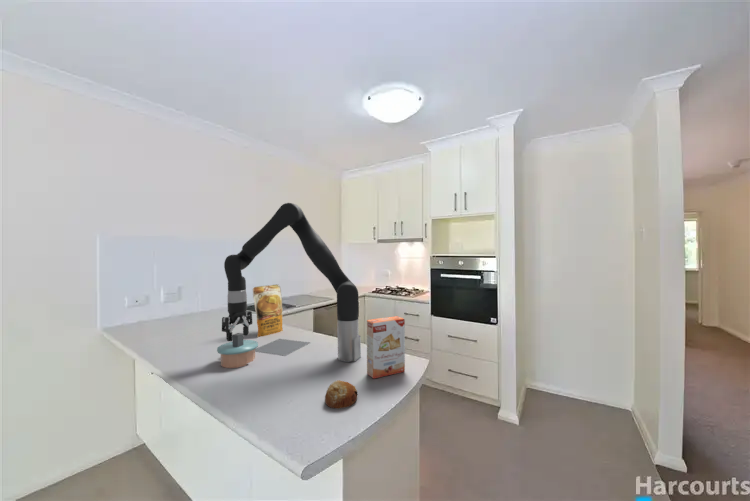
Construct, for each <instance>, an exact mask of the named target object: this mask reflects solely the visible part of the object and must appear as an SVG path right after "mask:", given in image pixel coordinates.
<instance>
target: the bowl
mask: <svg viewBox="0 0 750 501" xmlns="http://www.w3.org/2000/svg"><path fill="white" fill-rule="evenodd" d="M255 359H256V352H255V349H254V350H252V351H249V352H245V353H240V354H232V355H224V354H220V366H222V368H227V369H237V368H242V367H245V366H249V365H250V364H249V363H251V362H253V361H254V360H255Z"/></svg>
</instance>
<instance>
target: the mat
mask: <svg viewBox="0 0 750 501" xmlns="http://www.w3.org/2000/svg"><path fill="white" fill-rule="evenodd" d="M310 344H311V342H309V341H300V340H294V339H285V338H278V339H275V340H273V341H271V342H268V343H266V344H263V345H261V346H258V347H257V348H256V349H255V353H262V354H267V355H268V354H269V355H274V356H275V355H277V356H283V357H286V356H288V355H290V354H292V353H294V352H296V351H298V350H300V349H302V348H303V347H305V346H308V345H310Z"/></svg>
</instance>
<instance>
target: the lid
mask: <svg viewBox="0 0 750 501" xmlns="http://www.w3.org/2000/svg"><path fill="white" fill-rule="evenodd" d="M256 348H259V342H257V340H250V339H244V335H243V333H240V332H237V333H234V334H233V333H232V341H228V342H226V343H223V344H220V345H219V346H218V347H217V348H216V352H217V354H220V355H221V354H224V355H232V354H240V353H245V352H249V351H252V350H254V349H256Z"/></svg>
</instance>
